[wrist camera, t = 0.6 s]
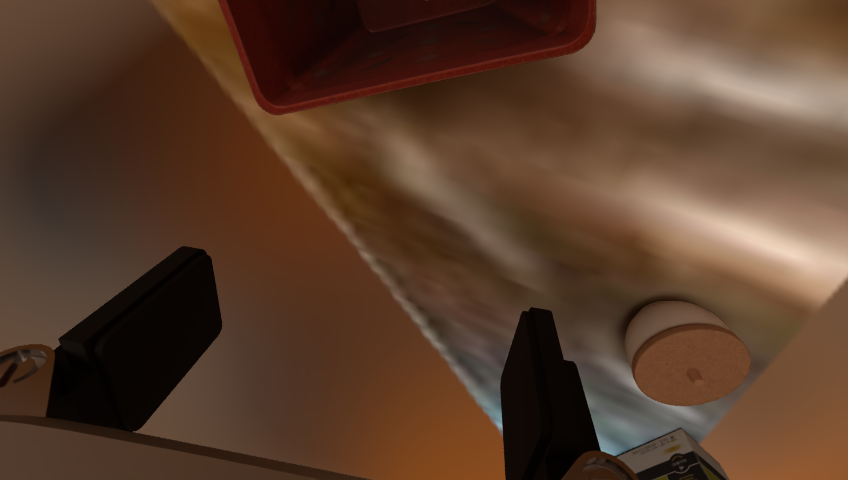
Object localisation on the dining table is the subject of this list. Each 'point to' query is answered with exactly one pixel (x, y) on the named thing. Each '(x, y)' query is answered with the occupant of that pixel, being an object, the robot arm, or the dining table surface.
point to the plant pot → (391, 43)
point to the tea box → (673, 460)
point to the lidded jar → (684, 354)
